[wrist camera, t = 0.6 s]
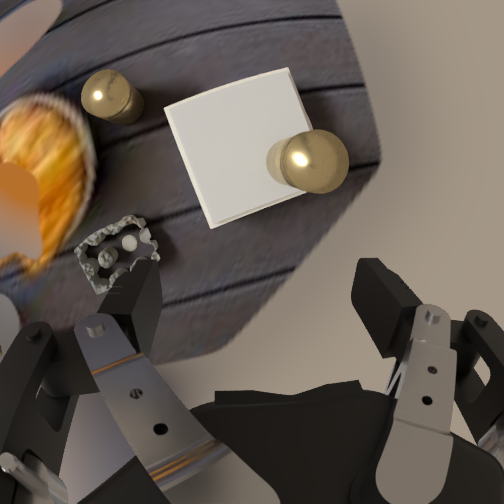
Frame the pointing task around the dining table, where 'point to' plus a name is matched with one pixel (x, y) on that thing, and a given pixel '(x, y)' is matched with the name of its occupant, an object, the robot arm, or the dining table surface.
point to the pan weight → (309, 161)
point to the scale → (237, 142)
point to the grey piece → (112, 252)
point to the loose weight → (112, 98)
